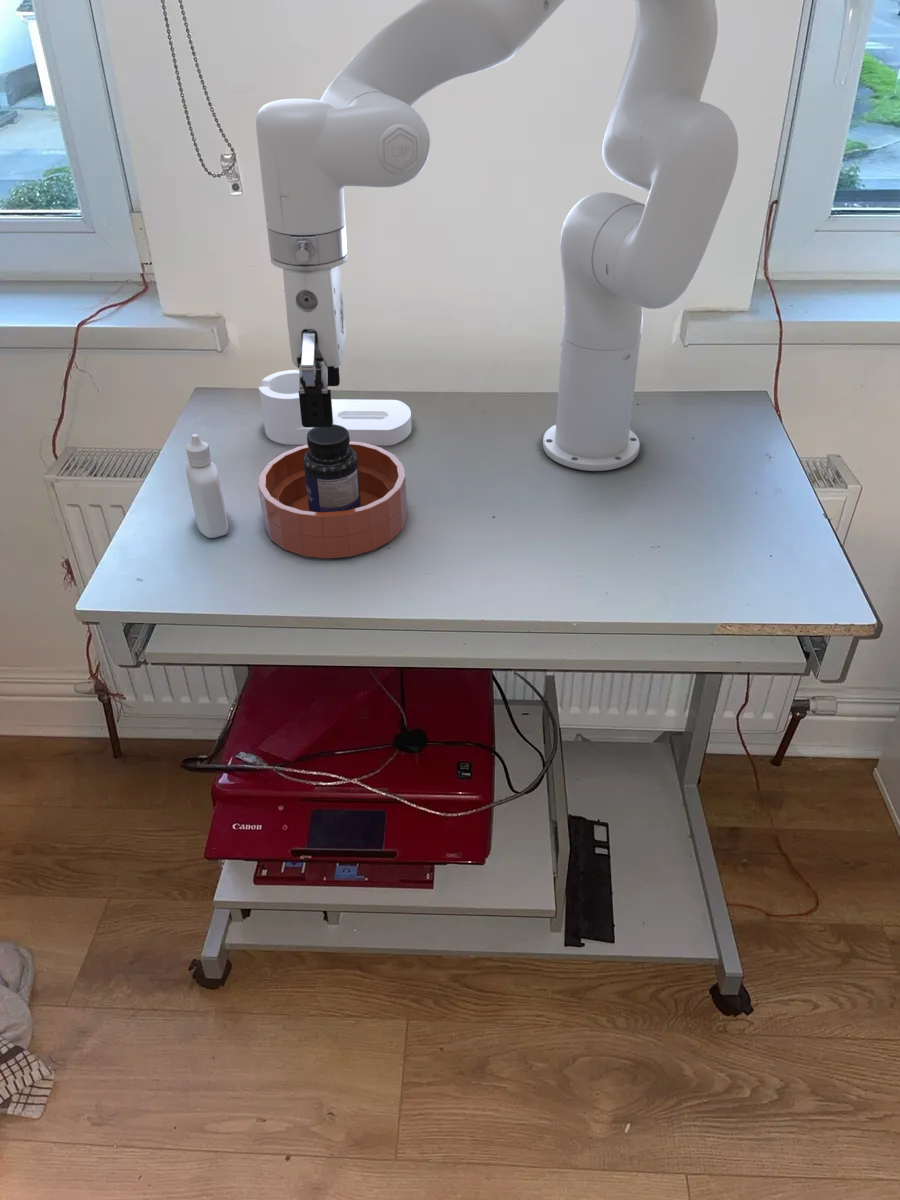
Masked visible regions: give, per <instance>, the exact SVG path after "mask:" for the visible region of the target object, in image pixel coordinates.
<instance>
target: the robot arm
mask: <svg viewBox="0 0 900 1200" xmlns="http://www.w3.org/2000/svg"><path fill="white" fill-rule="evenodd" d="M565 1H566V0H419V2H417V3H416V4H415V5H414V6H412V7H410V9H408V10H406V11H405V12H403V13H402V14H401V15H399V16H398V17H396V18H395V19H393V20H392V21H390V22H389V23H388V24H387V25H385V26H384V27H382V29H381V30H379V31H378V32H377V33H375V34H374V36H372V37H371V38H370V39H369V40H368V41H367V42H366V43H365V44H364V45H363V46H362V47H361V48H360V49H359V50H358V52H356V54H354V56H353V57H352V58H351V59H350V60H349V61H348V63H347V64H345V66H344V67H343V68H342V69H341V71H339V73H338V74H337V75H336V76H335V77H334V79H332V81H331V82H330V83H329V85H328V86H327V88H326V89H325V90H324V92H323V94H322V95H321V98H320V99H319V100H318V99H313V98H285V99H278V100H273V101H270V102H267V103H265V104H264V105H262V106H261V107H260V108H259V109H258V112H257V114H256V118H255V129H256V131H255V132H256V139H257V149H258V157H259V158H258V159H259V166H260V177H261V184H262V185H261V186H262V194H263V203H264V212H265V221H266V231H267V239H268V249H269V258H270V263H271V264H272V265H273V266H275V267H277V268H280V269H282V274H283V276H282V277H283V287H284V289H283V290H284V291H283V292H284V298H285V299H284V300H285V311H286V321H287V331H288V341H289V347H290V354H291V355H290V356H291V360H292V365H293V366H294V367H296V368H297V369H298V370H299V401H300V411H301V421H302V426H303V427H331V426H332V425H333V414H332V401H331V399H332V390H331V389H329V388H328V387H338V386H340V383H341V379H340V366H341V364H342V363H343V358H344V354H345V353H344V352H345V347H346V341H347V328H346V319H345V309H344V308H345V307H344V299H343V296H344V295H343V287H342V286H343V285H342V276H341V269H340V266H342V265H343V264H344V263H346V262H347V260H348V258H349V256H348V255H349V254H348V240H347V239H348V238H347V224H346V221H347V220H346V211H345V210H346V209H345V208H346V207H345V205H346V204H345V190H344V187H368V188H393V187H398V186H403V185H405V184H407V183H409V182H410V181H412V180H414V179H415V178H416V177H417V176H419V174H420V173H421V172H422V171H423V170H424V168H425V167H426V164H427V163H428V161H429V157H430V154H431V145H432V144H431V143H432V142H431V135H430V130H429V128H428V126H427V123H426V121H425V120H424V118H423V116H421V114H420V113H419V112H418V111H417V110H416V109H415V108H413V107H412V106H413V105H414V104H416V103H417V102H418V101H419V100H420V99H421V98H423V97H424V96H425V95H427V94H428V93H429V92H431V91H433V90H434V89H436V88H438V87H439V86H441V85H443V84H445V83H447V82H449V81H451V80H454V79H458V78H460V77H463V76H467V75H471V74H476V73H480V72H483V71H486V70H489V69H492V68H494V67H497V66H499V65H501V64H504V63H505V62H508V61H509V60H511V59H512V58H514V56H516V55H517V54H518V52H519V51H520V50H521V49H522V48H523V47H524V46H525V45H526V44H527V42H528V41H529V40H530V39H531V38H532V37H533V36H534V35H535V33H536V32H537V31H538V30H539V29H541V27H542V26H543V25H544V24H545V23H546V21H547V20H549V18H550V17H551V16H552V15H553V14H554V13H555V12H556V10H557V9H559V7H560V6H561V5H562V4H563V3H564V2H565ZM634 4H635V28H634V35H633V40H632V44H631V48H630V51H629V55H628V57H627V62H626V65H625V69H624V71H623V74H622V78H621V81H620V84H619V86H618V90H617V94H616V97H615V100H614V103H613V106H612V110H611V113H610V115H609V119H608V122H607V126H606V129H605V132H604V136H603V139H602V145H601V146H602V147H601V153H602V160H603V163H604V165H605V167H606V169H607V170H608V171H609V173H611V175H613V176H614V177H616V178H617V179H618V180H620V181H622V182H624V183H626V184H630V185H631V186H633V187H635V188H638V189H641V190H643V191H647V193H648V194H647V195H648V196H647V199H646V201H645V203H642V202H640V201H638V200H635V199H633V198H630V197H628V196H626V195H622V194H619V193H617V192H616V193H615V192H607V191H601V192H595V193H592V194H589V195H587V196H584V197H582V198H581V199H580V200H579V201H577V202H576V203H575V204H574V205H573V207H572V208H571V209H570V210H569V212H568V214H567V215H566V217H565V219H564V222H563V224H562V227H561V232H560V239H559V253H560V254H559V255H560V265H561V273H562V283H563V317H562V330H561V331H562V332H561V344H560V360H559V374H558V375H559V376H558V388H557V389H558V390H557V403H556V419H555V424H554V425H551V426H550V427H549V428H548V429H547V430H546V431H545V433H544V435H543V437H542V448H543V451H544V453H545V454H546V455H547V456H548V457H549V458H550V459H551V460H552V461H554V462H556V463H557V464H560V465H562V466H564V467H567V468H570V469H574V470H580V471H586V472H603V471H604V472H605V471H612V470H617V469H620V468H622V467H626V465H629V464H630V463H632V462H633V461H634V460H635V459H636V458H637V457H638V455H639V453H640V447H641V444H640V439H639V437H638V436H637V434H636V433H635V432H634V431H633V430H632V429H630V428H631V419H632V412H633V406H634V397H635V396H634V394H635V386H636V380H637V378H636V377H637V372H638V371H637V370H638V364H639V363H638V362H639V357H640V356H639V355H640V347H641V346H640V345H641V339H642V333H643V332H642V331H643V324H644V323H643V321H644V310H643V309H651V310H654V309H655V310H656V309H662V308H666V307H668V306H670V305H671V304H674V303H675V302H676V301H677V300H678V299H679V298H680V297H681V296H683V294H684V293H685V292H686V291H687V289H688V288H689V287H690V285H691V283H692V282H693V281H694V279H695V277H696V275H697V272H698V270H699V268H700V266H701V263H702V261H703V259H704V256H705V253H706V251H707V248H708V246H709V244H710V240H711V239H712V235H713V233H714V230H715V228H716V225H717V223H718V220H719V217H720V215H721V212H722V211H723V207H724V204H725V202H726V200H727V196H728V194H729V192H730V189H731V186H732V183H733V180H734V178H735V175H736V170H737V165H738V160H739V138H738V133H737V129H736V127H735V124H734V122H733V120H732V119H731V117H730V116H729V115H728V114H727V113H726V112H725V111H724V110H722V109H721V108H720V107H718V106H716V105H714V104H711V103H708V102H705V101H701V98H702V94H703V91H704V88H705V85H706V81H707V78H708V74H709V71H710V68H711V65H712V62H713V58H714V55H715V52H716V47H717V42H718V41H717V40H718V29H719V27H718V25H719V24H718V23H719V22H718V10H717V3H716V0H634Z"/></svg>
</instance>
